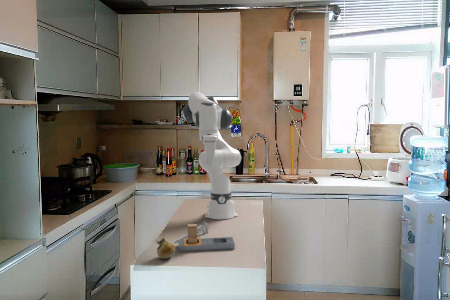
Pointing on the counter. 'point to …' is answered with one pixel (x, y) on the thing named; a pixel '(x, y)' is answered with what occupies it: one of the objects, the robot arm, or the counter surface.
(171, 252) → the onion
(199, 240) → the rail
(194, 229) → the peg
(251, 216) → the counter surface
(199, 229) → the caliper
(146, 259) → the counter surface
